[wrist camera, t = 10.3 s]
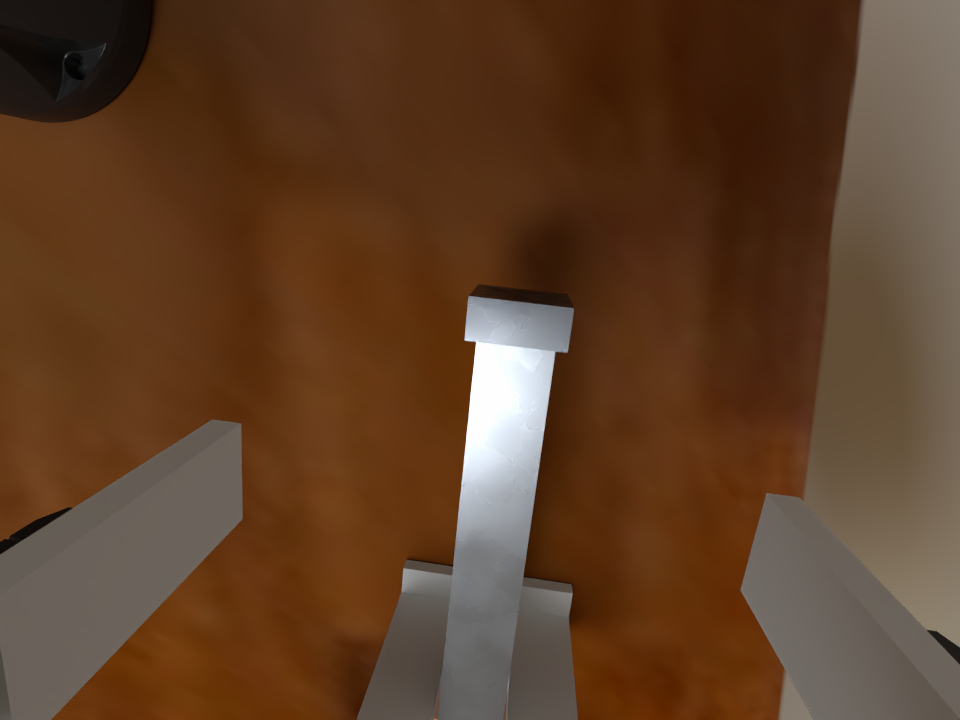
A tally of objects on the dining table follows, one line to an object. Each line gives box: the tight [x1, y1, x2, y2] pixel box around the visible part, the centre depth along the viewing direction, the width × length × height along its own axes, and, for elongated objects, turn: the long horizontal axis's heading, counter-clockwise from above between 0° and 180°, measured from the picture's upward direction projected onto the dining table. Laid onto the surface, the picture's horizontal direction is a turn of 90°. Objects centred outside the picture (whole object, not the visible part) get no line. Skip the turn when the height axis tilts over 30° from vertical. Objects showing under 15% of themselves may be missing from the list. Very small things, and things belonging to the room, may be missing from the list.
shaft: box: [437, 284, 574, 720], centre depth 29 cm, size 24×5×5 cm, turn 174°
